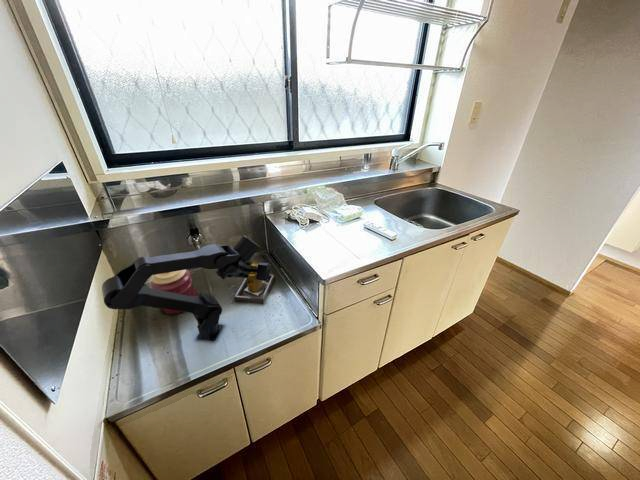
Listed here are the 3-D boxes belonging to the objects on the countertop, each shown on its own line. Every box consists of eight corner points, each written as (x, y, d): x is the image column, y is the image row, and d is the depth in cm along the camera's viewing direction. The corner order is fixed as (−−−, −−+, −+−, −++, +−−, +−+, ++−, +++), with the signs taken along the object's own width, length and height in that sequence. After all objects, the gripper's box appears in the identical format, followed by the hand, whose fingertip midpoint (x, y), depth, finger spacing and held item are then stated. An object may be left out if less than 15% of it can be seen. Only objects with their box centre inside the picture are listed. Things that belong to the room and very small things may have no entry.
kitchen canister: (201, 304, 100) (190, 267, 91) (165, 320, 93) (149, 282, 84) (191, 286, 109) (180, 251, 100) (156, 300, 102) (141, 263, 93)
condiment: (243, 290, 107) (239, 267, 101) (256, 278, 114) (253, 256, 108) (257, 296, 105) (254, 272, 99) (270, 283, 111) (267, 261, 105)
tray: (263, 303, 101) (262, 299, 100) (235, 300, 102) (234, 296, 101) (274, 278, 114) (274, 274, 113) (249, 276, 116) (248, 272, 114)
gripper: (266, 245, 88) (277, 254, 103) (214, 241, 90) (232, 250, 105) (261, 278, 85) (273, 283, 100) (207, 273, 87) (227, 278, 102)
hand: (251, 272), depth 102 cm, fingers open, 9 cm apart
